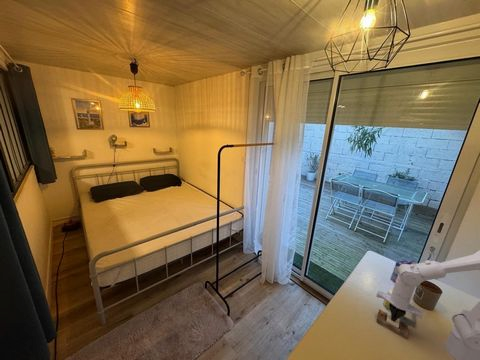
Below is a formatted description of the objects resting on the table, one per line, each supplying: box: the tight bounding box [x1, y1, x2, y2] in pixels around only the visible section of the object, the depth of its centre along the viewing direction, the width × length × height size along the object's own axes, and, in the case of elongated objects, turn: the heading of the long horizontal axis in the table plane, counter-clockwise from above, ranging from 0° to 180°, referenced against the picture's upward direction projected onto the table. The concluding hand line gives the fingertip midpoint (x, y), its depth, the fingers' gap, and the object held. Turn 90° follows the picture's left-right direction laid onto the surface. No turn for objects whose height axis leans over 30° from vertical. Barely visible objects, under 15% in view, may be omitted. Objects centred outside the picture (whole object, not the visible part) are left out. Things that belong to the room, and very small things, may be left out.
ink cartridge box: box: [390, 258, 416, 284], centre depth 104 cm, size 10×6×14 cm, turn 109°
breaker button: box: [385, 312, 400, 328], centre depth 82 cm, size 4×4×2 cm
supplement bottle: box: [382, 288, 393, 312], centre depth 89 cm, size 5×5×8 cm
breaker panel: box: [376, 308, 409, 340], centre depth 82 cm, size 10×6×3 cm, turn 49°
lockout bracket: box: [398, 313, 416, 328], centre depth 87 cm, size 6×9×2 cm, turn 139°
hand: (393, 319), depth 81 cm, fingers closed, pressing on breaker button
